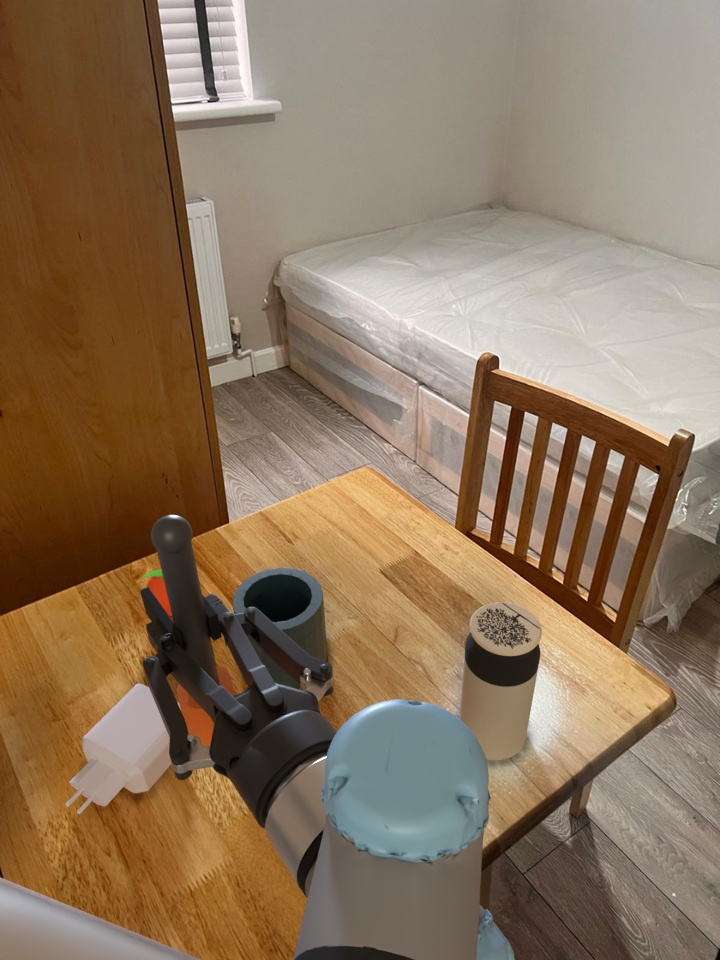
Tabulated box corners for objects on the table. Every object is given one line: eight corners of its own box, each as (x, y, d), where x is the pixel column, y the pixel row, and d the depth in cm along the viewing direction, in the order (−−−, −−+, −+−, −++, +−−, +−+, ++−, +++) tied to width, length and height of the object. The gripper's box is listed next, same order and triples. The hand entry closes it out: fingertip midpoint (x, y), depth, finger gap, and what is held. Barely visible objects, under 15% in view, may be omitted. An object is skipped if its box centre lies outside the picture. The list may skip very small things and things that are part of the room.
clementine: (136, 623, 103) (126, 586, 99) (153, 590, 109) (144, 553, 105) (191, 628, 102) (183, 590, 98) (205, 593, 108) (198, 556, 104)
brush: (209, 768, 65) (158, 549, 50) (178, 736, 68) (122, 520, 53) (251, 734, 68) (214, 517, 53) (220, 705, 71) (177, 491, 56)
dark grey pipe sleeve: (281, 706, 91) (273, 645, 85) (225, 659, 97) (214, 599, 91) (344, 655, 97) (341, 595, 91) (288, 614, 104) (281, 555, 98)
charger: (48, 803, 81) (143, 705, 91) (108, 842, 77) (200, 735, 88) (36, 778, 78) (135, 680, 89) (98, 817, 74) (194, 709, 85)
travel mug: (487, 774, 83) (501, 667, 72) (444, 724, 88) (452, 618, 78) (539, 741, 86) (560, 634, 76) (495, 695, 92) (508, 589, 81)
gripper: (209, 894, 46) (86, 663, 62) (403, 762, 54) (248, 586, 69) (191, 829, 42) (64, 599, 58) (404, 696, 49) (239, 524, 65)
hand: (165, 592), depth 64 cm, fingers closed on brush, 3 cm apart
